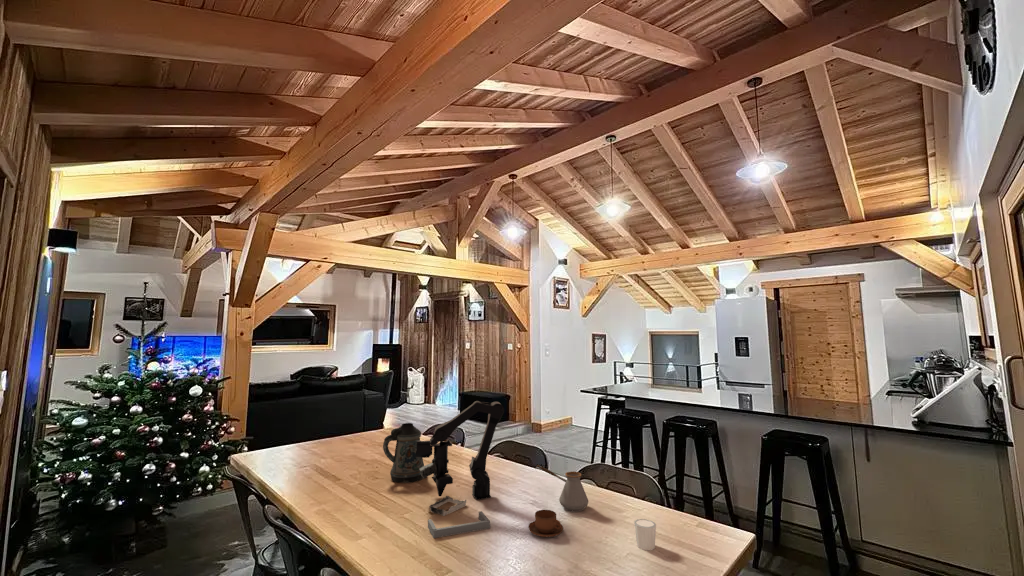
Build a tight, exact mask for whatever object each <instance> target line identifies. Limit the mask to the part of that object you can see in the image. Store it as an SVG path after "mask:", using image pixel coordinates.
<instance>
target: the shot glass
mask: <svg viewBox="0 0 1024 576" xmlns="http://www.w3.org/2000/svg"><path fill="white" fill-rule="evenodd" d="M633 525H634V526H633V528H634V535H635V542H636V543H635V544H636V547H637V548H638V549H640V550H643V551H652V550H653V551H654V550H655V548H656V535H657V534H656V533H657V531H656V530H657V524H656V522H655V521H653V520H650V519H647V518H646V519H645V518H644V519H643V518H639V519H635V520H634V521H633Z"/></svg>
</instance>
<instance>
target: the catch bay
mask: <svg viewBox="0 0 1024 576" xmlns="http://www.w3.org/2000/svg"><path fill="white" fill-rule="evenodd" d="M478 520H479V521H474V522H468V523H462V524H456V525H450V526H445V527H443V526H442V527H436V525H435V523H434V522H433V519H428V520H427V529H428V530H429V533H430V535H431V536H432V538H433V539H436V538H442V537H449V536H455V535H459V534H465V533H470V532H471V533H472V532H476V531H483V530H489V529H491V521H490V519H489V518H488V516H487V515H485V513H484V512H483V511H482V510H481V511H478Z"/></svg>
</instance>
